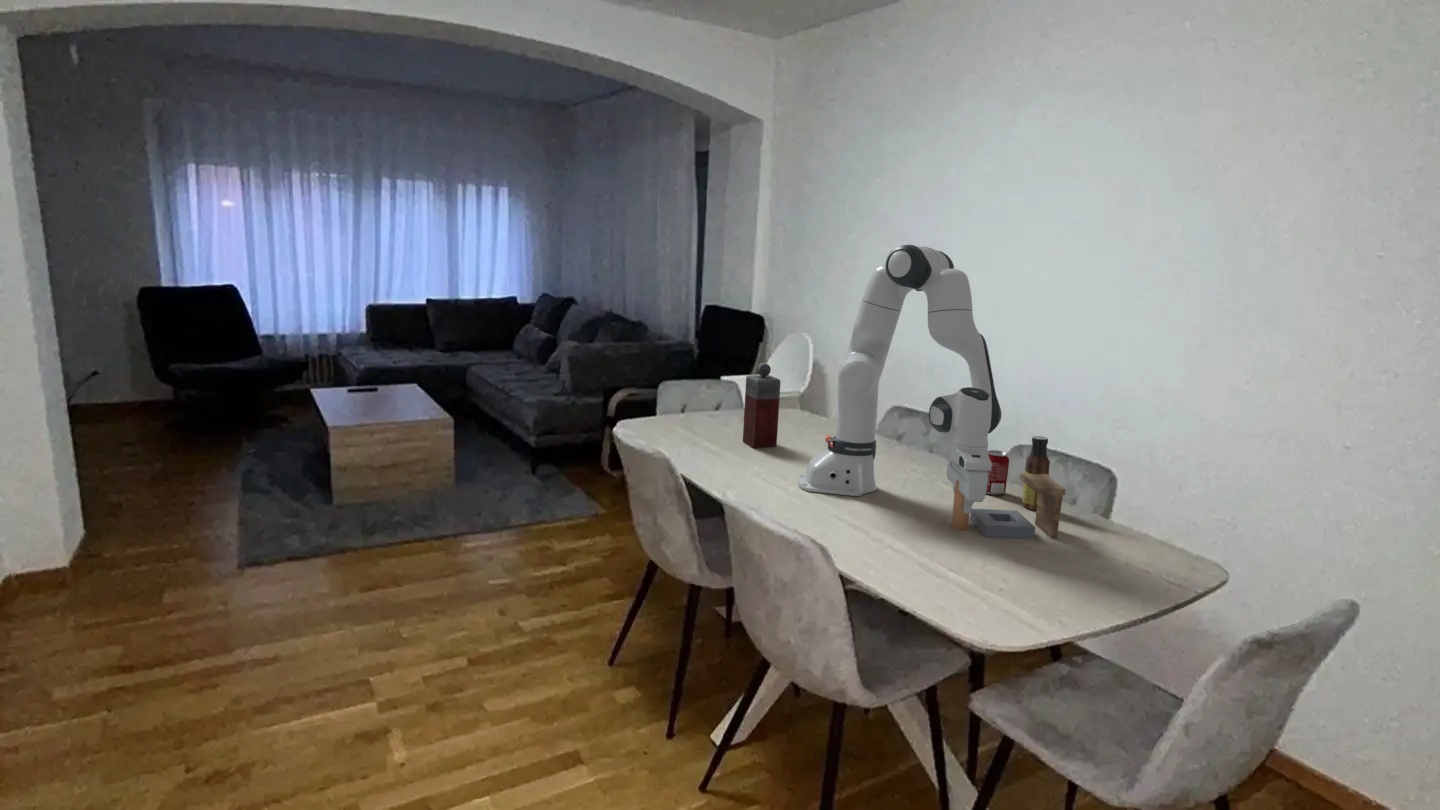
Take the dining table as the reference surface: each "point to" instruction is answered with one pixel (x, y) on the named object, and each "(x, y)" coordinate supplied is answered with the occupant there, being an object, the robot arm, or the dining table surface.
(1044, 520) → the wooden l-shaped bracket
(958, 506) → the peg
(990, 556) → the dining table surface
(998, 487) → the soda can
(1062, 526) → the dining table surface
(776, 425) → the red grey knobbed box
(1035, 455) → the sauce bottle
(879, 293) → the robot arm
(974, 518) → the socket
